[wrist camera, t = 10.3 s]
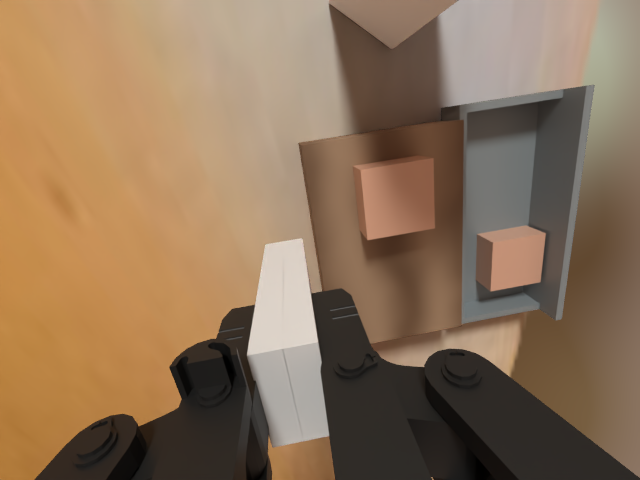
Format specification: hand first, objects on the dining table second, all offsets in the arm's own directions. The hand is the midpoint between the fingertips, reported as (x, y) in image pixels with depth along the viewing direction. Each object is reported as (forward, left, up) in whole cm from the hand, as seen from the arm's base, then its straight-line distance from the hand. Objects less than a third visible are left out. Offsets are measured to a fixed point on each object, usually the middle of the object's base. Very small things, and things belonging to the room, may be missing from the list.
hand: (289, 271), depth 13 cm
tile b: (+8, 0, -11) cm, 14 cm away
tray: (+19, -5, -16) cm, 25 cm away
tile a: (+20, -9, -13) cm, 25 cm away
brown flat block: (+8, -5, -16) cm, 18 cm away
